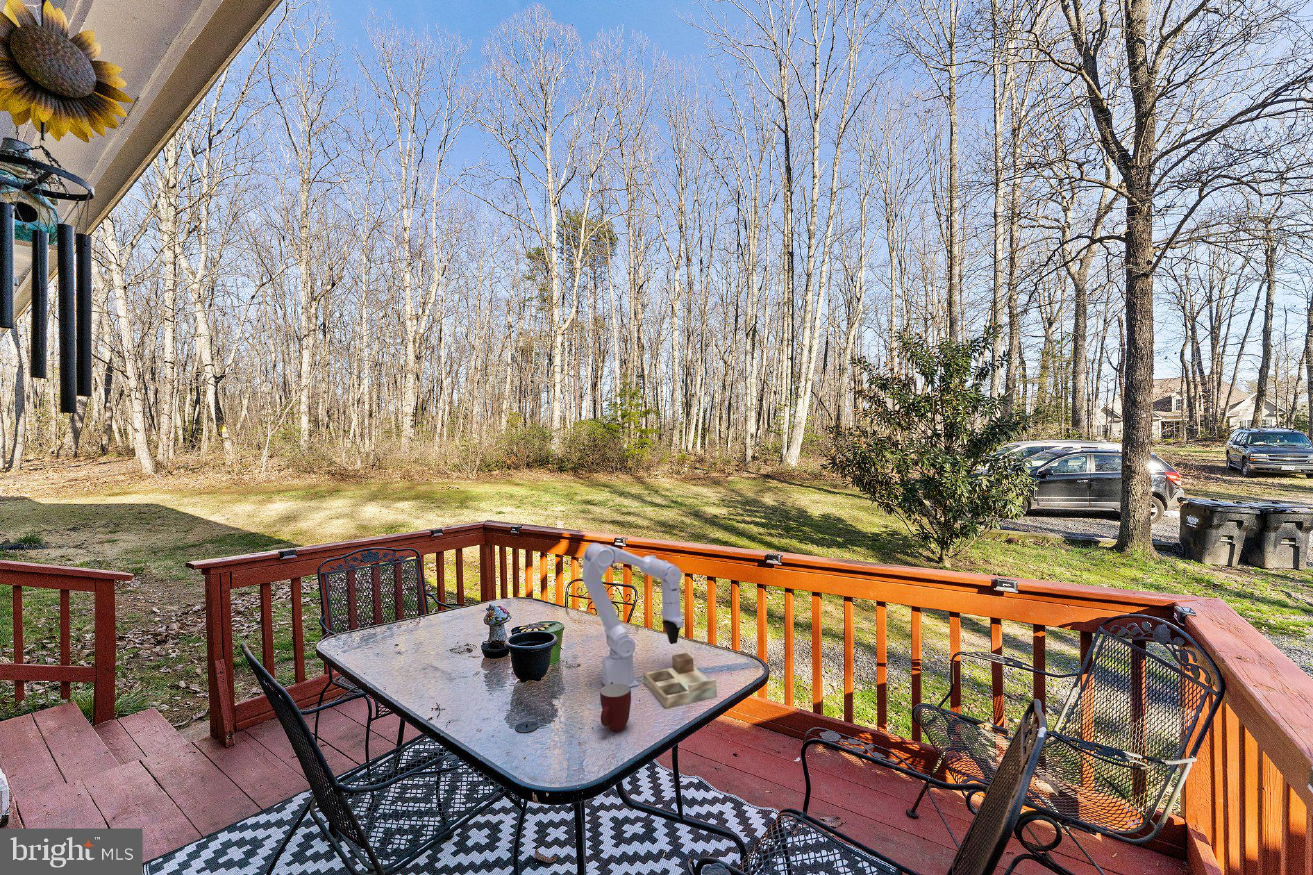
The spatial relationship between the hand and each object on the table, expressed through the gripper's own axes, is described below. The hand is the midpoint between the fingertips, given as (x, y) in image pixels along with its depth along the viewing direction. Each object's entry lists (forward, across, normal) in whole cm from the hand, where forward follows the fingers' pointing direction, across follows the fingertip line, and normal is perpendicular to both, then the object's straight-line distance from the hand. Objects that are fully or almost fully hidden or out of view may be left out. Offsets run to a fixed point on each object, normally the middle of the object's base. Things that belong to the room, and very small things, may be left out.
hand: (673, 643), depth 183 cm
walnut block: (+6, -8, 0) cm, 10 cm away
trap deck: (+9, -14, +4) cm, 17 cm away
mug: (+9, -28, +28) cm, 40 cm away
